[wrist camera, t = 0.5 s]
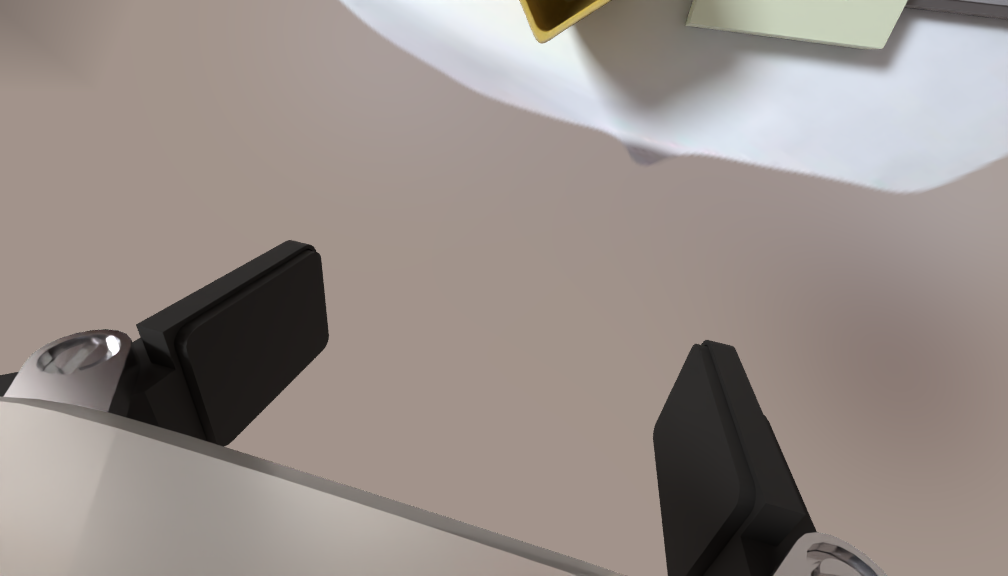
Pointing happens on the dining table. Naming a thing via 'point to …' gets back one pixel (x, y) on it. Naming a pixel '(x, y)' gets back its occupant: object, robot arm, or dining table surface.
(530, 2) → the flower pot
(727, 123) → the dining table surface
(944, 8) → the phone slab
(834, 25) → the outlet plate
